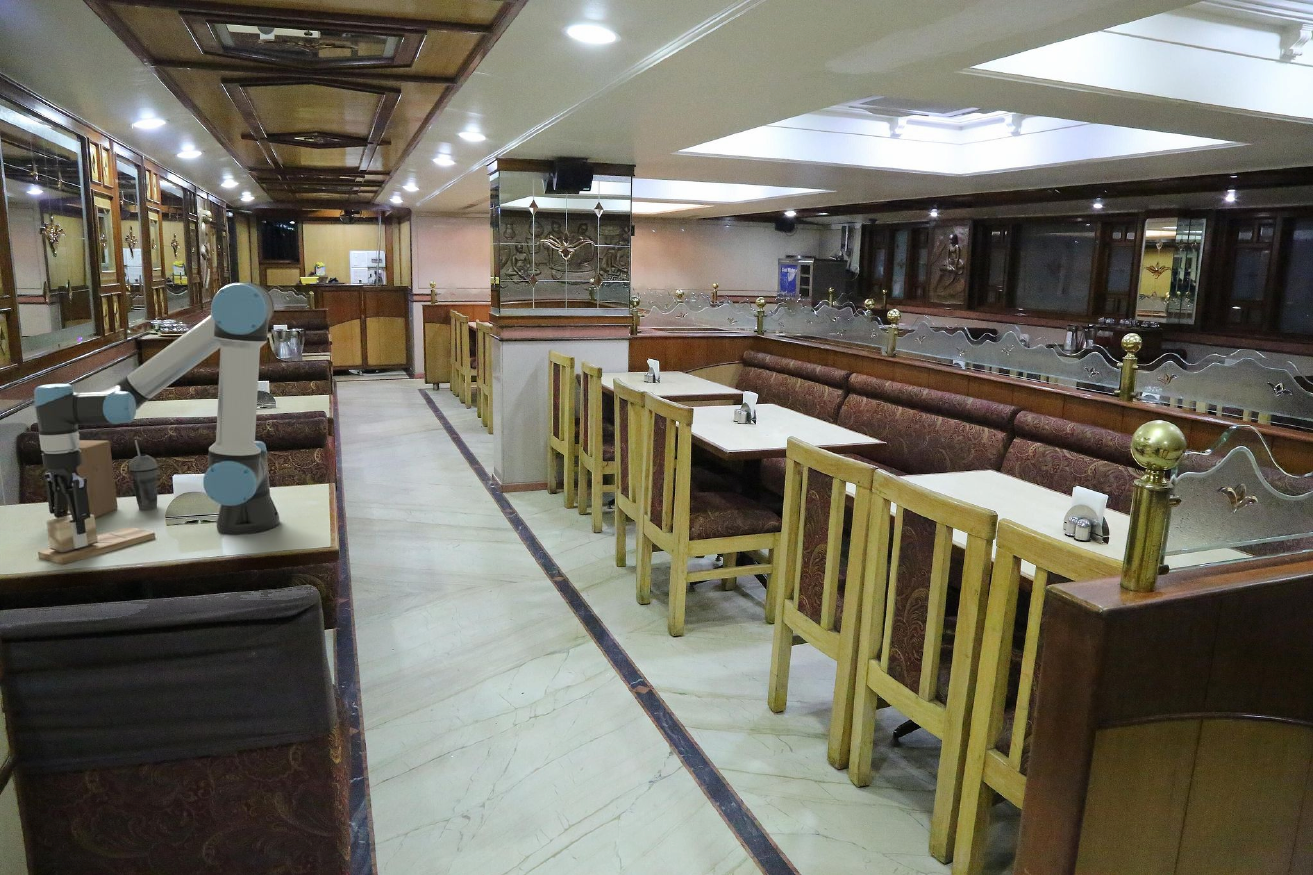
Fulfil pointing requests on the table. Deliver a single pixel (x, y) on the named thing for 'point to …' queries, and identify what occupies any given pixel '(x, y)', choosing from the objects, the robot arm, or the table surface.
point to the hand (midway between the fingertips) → (73, 544)
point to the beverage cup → (144, 480)
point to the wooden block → (98, 476)
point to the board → (99, 545)
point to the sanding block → (68, 533)
